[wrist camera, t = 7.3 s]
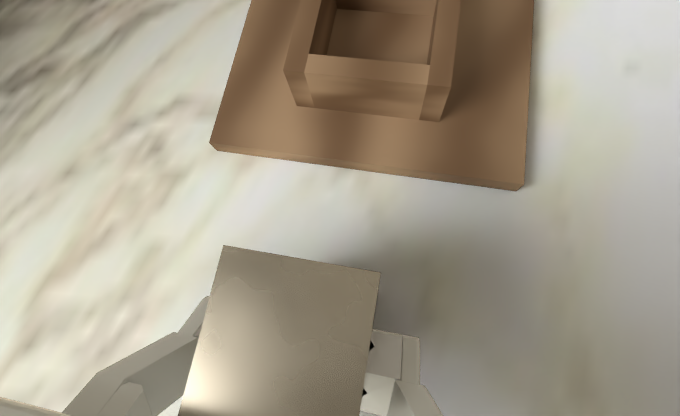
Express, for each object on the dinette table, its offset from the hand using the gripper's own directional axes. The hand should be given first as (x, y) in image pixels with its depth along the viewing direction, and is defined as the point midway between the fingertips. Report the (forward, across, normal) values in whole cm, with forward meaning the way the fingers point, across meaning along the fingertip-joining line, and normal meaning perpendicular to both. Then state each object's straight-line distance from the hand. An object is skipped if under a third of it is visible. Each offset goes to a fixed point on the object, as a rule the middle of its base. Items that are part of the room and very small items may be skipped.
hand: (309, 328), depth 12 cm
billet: (+4, 0, +4) cm, 5 cm away
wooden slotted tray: (+16, 0, -9) cm, 19 cm away
